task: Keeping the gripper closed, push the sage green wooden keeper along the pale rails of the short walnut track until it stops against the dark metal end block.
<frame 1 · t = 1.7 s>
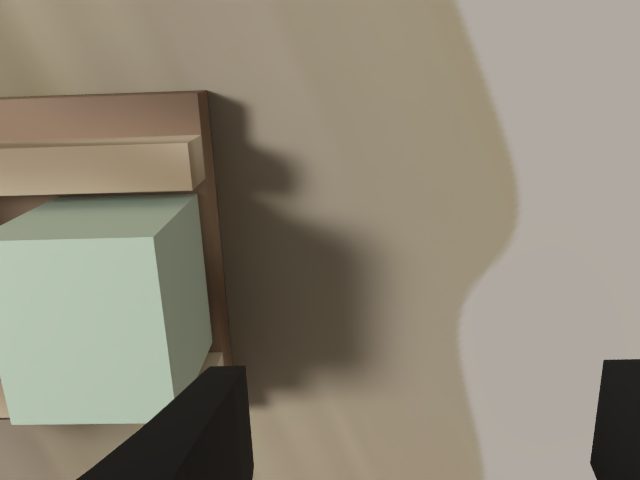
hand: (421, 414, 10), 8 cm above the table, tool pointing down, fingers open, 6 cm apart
track: (56, 259, 18), on the table
keeper: (111, 300, 15), point 3 cm above the table, slide at 0.0 cm
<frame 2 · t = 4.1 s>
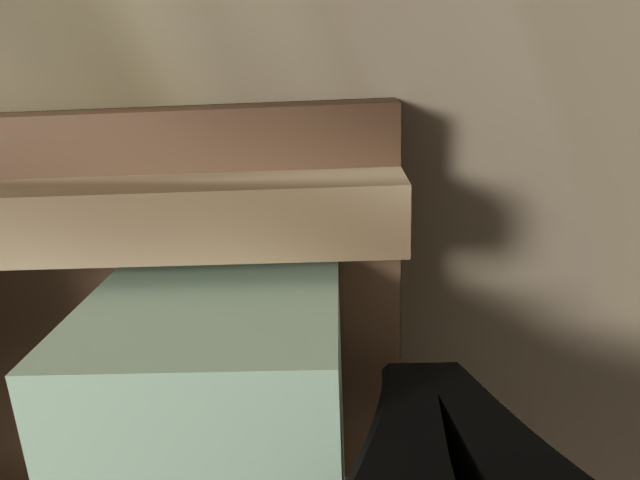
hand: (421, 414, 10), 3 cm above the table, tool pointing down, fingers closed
track: (155, 339, 13), on the table
keeper: (220, 432, 9), point 3 cm above the table, slide at 0.9 cm, touching gripper
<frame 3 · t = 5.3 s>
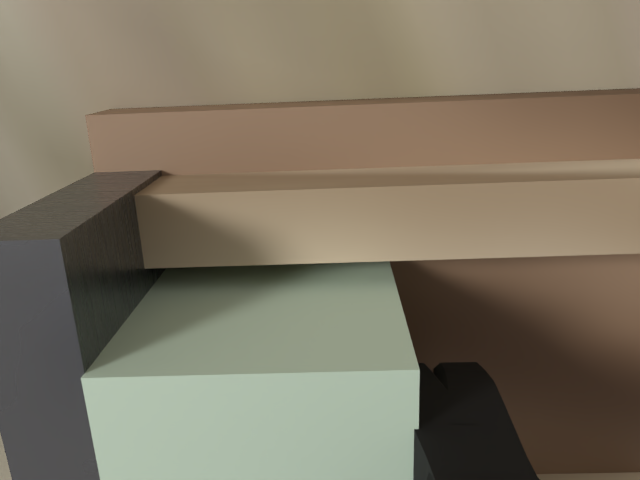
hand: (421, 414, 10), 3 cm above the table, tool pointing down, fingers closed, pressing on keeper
track: (385, 335, 12), on the table
keeper: (276, 433, 9), point 3 cm above the table, slide at 5.1 cm, touching gripper, track
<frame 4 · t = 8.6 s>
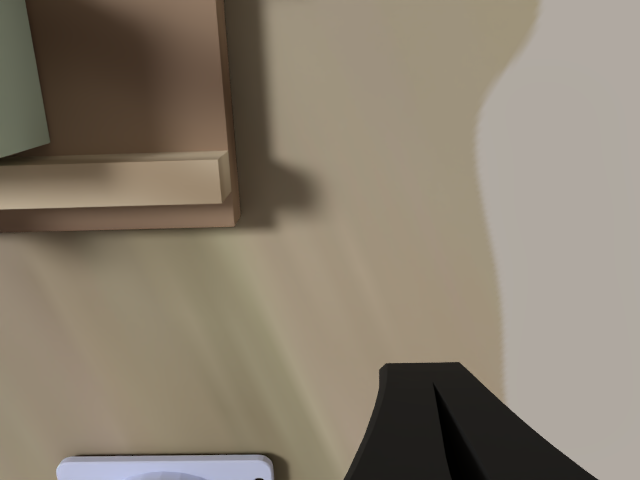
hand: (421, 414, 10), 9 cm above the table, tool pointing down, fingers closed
track: (53, 59, 17), on the table
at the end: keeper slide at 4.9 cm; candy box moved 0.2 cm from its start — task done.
